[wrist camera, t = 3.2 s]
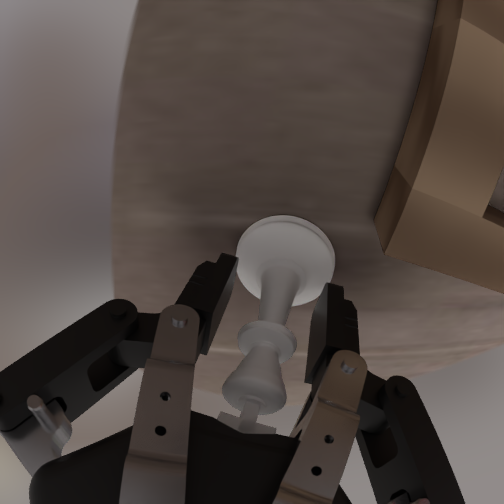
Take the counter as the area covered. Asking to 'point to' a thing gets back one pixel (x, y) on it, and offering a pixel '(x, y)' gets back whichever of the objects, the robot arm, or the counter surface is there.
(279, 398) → the chess piece
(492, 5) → the frame
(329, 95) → the counter surface
